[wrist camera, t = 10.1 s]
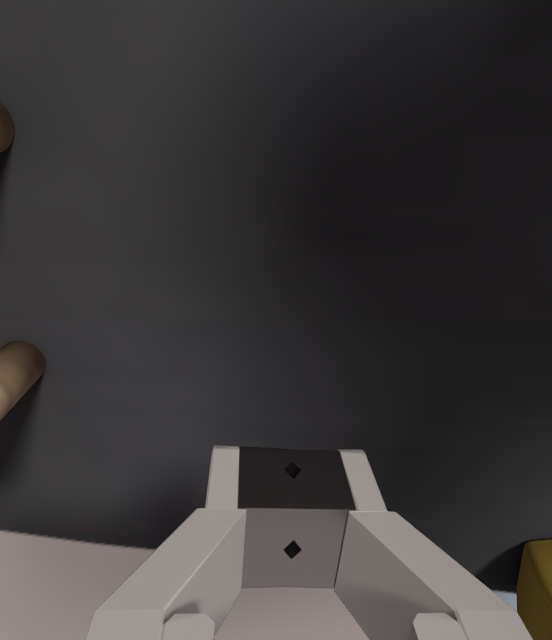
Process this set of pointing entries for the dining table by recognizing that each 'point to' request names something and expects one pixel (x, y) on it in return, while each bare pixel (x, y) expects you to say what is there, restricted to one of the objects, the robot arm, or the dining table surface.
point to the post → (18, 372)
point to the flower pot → (536, 589)
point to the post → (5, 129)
